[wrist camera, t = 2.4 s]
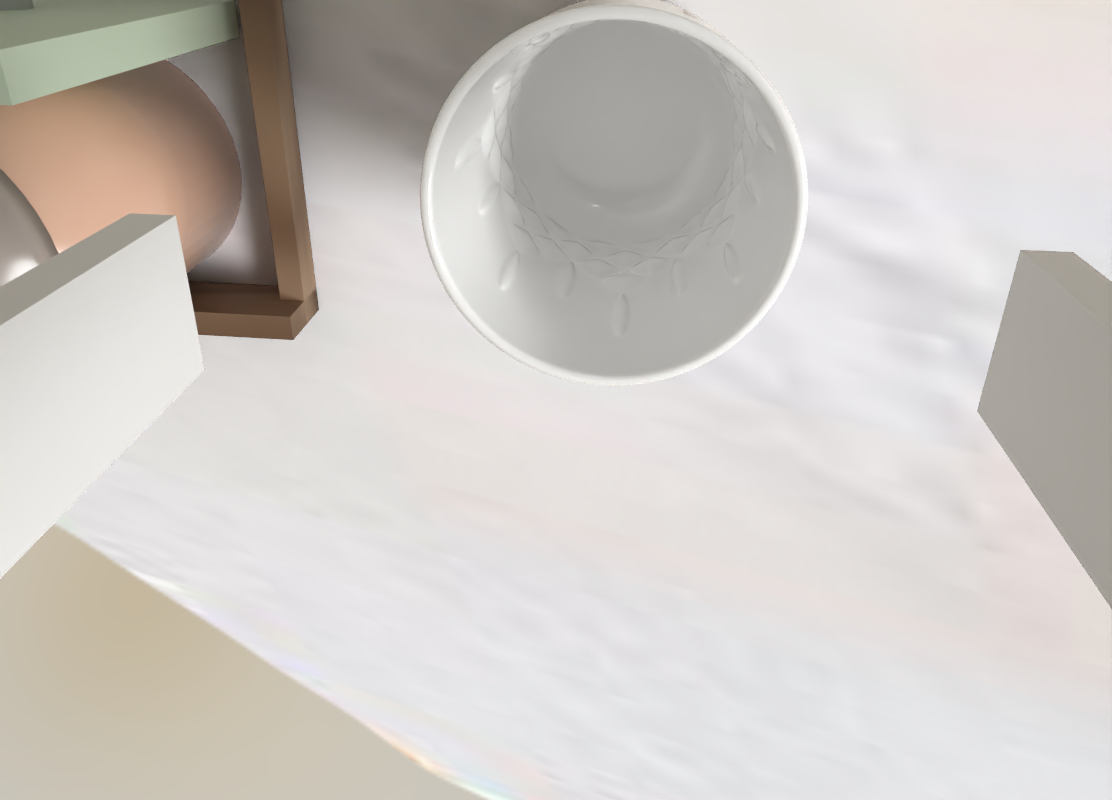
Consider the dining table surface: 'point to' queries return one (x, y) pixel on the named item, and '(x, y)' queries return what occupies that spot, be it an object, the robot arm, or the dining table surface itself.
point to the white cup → (614, 193)
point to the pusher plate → (99, 39)
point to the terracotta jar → (115, 165)
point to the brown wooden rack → (269, 199)
